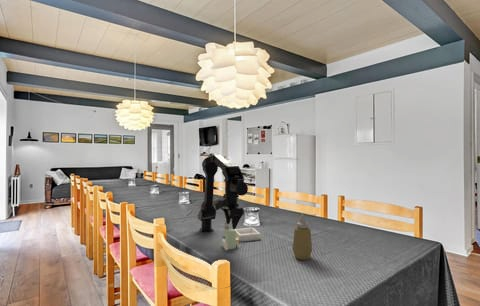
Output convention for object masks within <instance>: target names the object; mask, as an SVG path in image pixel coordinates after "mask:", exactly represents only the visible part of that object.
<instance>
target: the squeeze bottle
mask: <svg viewBox="0 0 480 306" xmlns="http://www.w3.org/2000/svg"><path fill="white" fill-rule="evenodd" d="M293 231H294V232H293V238H292V239H293V240H292V251H293V255H294V257H295V258H296V259H298V260H303V261H307V260H309V259H310V257H311V254H312V252H313V243H312V242H313V241H312V233H311V232H312V230H311V228H309V223H308V222H307V221H306V217H305V214H304V213H301V214H300V218H299V221H298V222H297V223H296V227H295V228H294V230H293Z"/></svg>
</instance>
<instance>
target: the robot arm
mask: <svg viewBox="0 0 480 306" xmlns="http://www.w3.org/2000/svg"><path fill="white" fill-rule="evenodd" d="M201 167H202V171H203V173H204V175H205V177H204V198H203V202H202V204H201V205H200V209H199V212H198V214H197V219H198V220H199V221H200V222H201V224H200V225H201V226H200V228H199V230H200V232H201V233H207V232H214V229H213V227H212V226H213V224H212V221H213V220H216V216H217V211H219V210H222V212H223V213H224V217H225V219H226V222H227V224H229V223H230V222H231V227H232V228H233V229H237V226H238V224H239V222H240V220H241V219H242V217H243V215H244V214H245V209H244V208H242V207H241V206H240V204H239V203H238V198H240V196H246V194H247V193H248V191H249V187H248V184H247V183H245V180H244V175H243V172H242V171H241V167H240V166H239V165H238V164H236V163H231V162H229V161H228V160H227V159H226V158H225V157H223V155H222V154H220V153H212V154H210V155H209V156H207V157H205V158H204V159H203V161H202V162H201ZM219 169H220V170H221V174H222V176H223V177H224V180H223V182H224V184H225V185H224V194H223V195H222V198H218V199H216V200H214V189H215V188H214V187H215V186H214V185H215V176H216V174H217V172H218V170H219ZM229 225H230V224H229Z"/></svg>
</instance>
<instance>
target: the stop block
mask: <svg viewBox="0 0 480 306" xmlns="http://www.w3.org/2000/svg"><path fill="white" fill-rule="evenodd" d="M224 239H225V240H226V242H227V243H228V250H233V249H237V245H236V230H235V229H233V227H232V228H229V229H225V228H224Z"/></svg>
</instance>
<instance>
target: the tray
mask: <svg viewBox="0 0 480 306" xmlns="http://www.w3.org/2000/svg"><path fill="white" fill-rule="evenodd" d="M235 230H236V237H237V238H239V243H241V242H250V241H261V238H262V235H261V234H262V233H260V232H259V231H258V230H256V229H255V228H254V227H245V228H243V227H242V228H236V229H235Z"/></svg>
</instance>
